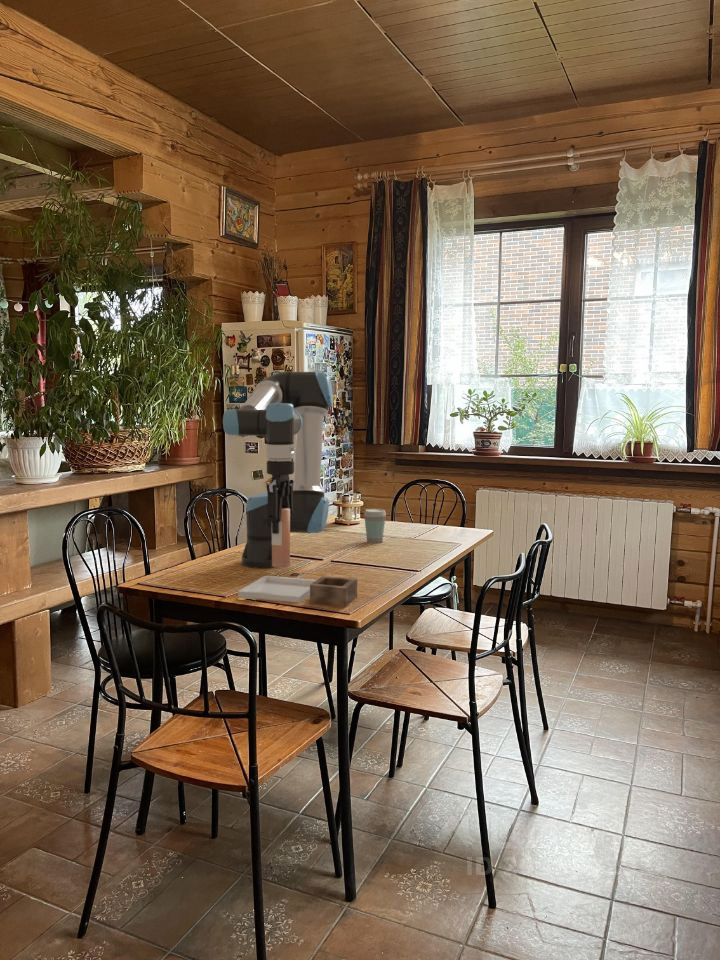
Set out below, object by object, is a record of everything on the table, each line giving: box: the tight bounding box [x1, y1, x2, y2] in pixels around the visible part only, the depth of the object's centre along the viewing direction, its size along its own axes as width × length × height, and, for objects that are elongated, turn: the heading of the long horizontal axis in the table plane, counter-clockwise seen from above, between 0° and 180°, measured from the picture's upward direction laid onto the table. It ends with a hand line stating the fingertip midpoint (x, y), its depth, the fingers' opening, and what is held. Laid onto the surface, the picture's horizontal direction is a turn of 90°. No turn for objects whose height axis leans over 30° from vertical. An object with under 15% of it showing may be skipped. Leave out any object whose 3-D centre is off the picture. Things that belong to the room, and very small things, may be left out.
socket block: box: [309, 575, 358, 608], centre depth 198 cm, size 10×10×6 cm
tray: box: [237, 575, 317, 603], centre depth 207 cm, size 18×18×2 cm
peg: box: [272, 508, 291, 569], centre depth 205 cm, size 5×5×16 cm
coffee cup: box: [363, 508, 387, 544], centre depth 279 cm, size 9×8×12 cm
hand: (280, 542), depth 205 cm, fingers closed on peg, 5 cm apart
